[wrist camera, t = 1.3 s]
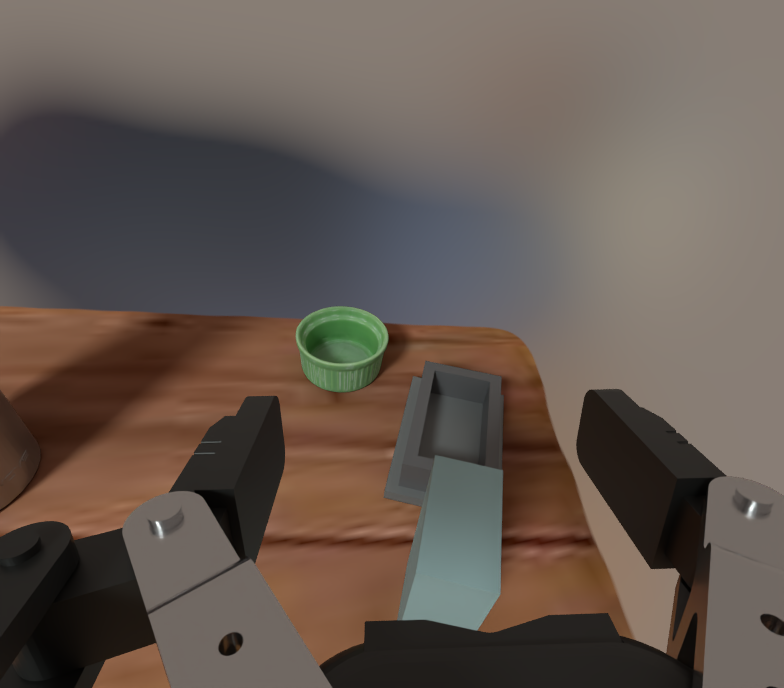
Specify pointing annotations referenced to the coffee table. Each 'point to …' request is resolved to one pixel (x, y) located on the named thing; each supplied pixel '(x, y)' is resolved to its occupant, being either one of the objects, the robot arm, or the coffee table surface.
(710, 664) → the robot arm
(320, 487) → the coffee table surface
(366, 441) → the coffee table surface
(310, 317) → the ramekin
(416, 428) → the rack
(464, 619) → the tall teal prism
